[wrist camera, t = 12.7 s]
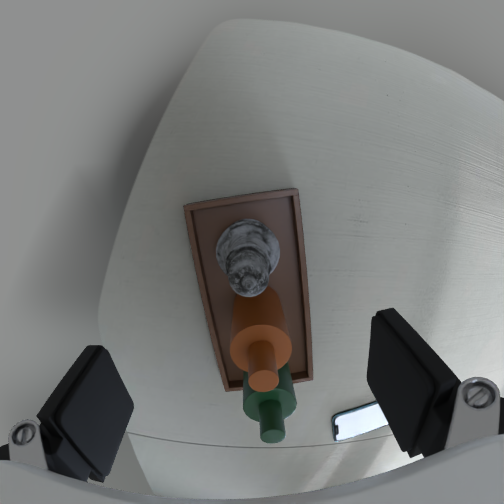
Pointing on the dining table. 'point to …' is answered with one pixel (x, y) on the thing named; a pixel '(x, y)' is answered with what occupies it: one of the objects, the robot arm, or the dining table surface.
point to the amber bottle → (260, 338)
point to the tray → (281, 279)
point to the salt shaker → (248, 256)
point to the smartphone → (358, 421)
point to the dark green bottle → (270, 405)
